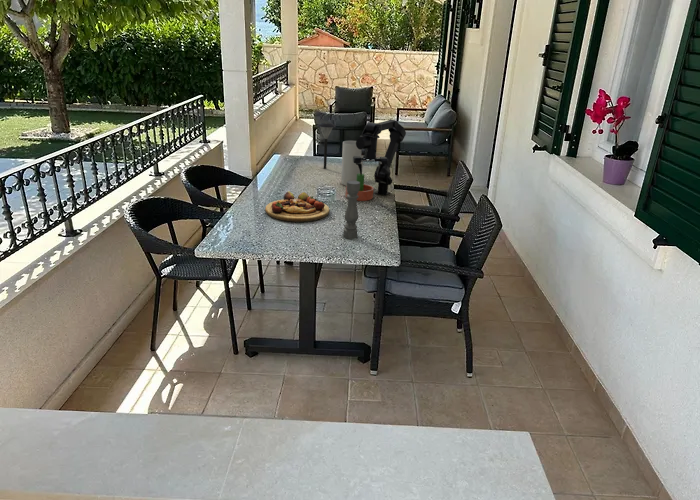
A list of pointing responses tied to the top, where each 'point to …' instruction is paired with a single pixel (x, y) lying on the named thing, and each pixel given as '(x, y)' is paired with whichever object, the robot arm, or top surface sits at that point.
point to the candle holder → (351, 210)
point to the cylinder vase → (350, 162)
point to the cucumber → (361, 180)
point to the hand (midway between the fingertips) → (369, 175)
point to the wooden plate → (297, 208)
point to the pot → (364, 193)
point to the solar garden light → (326, 130)
